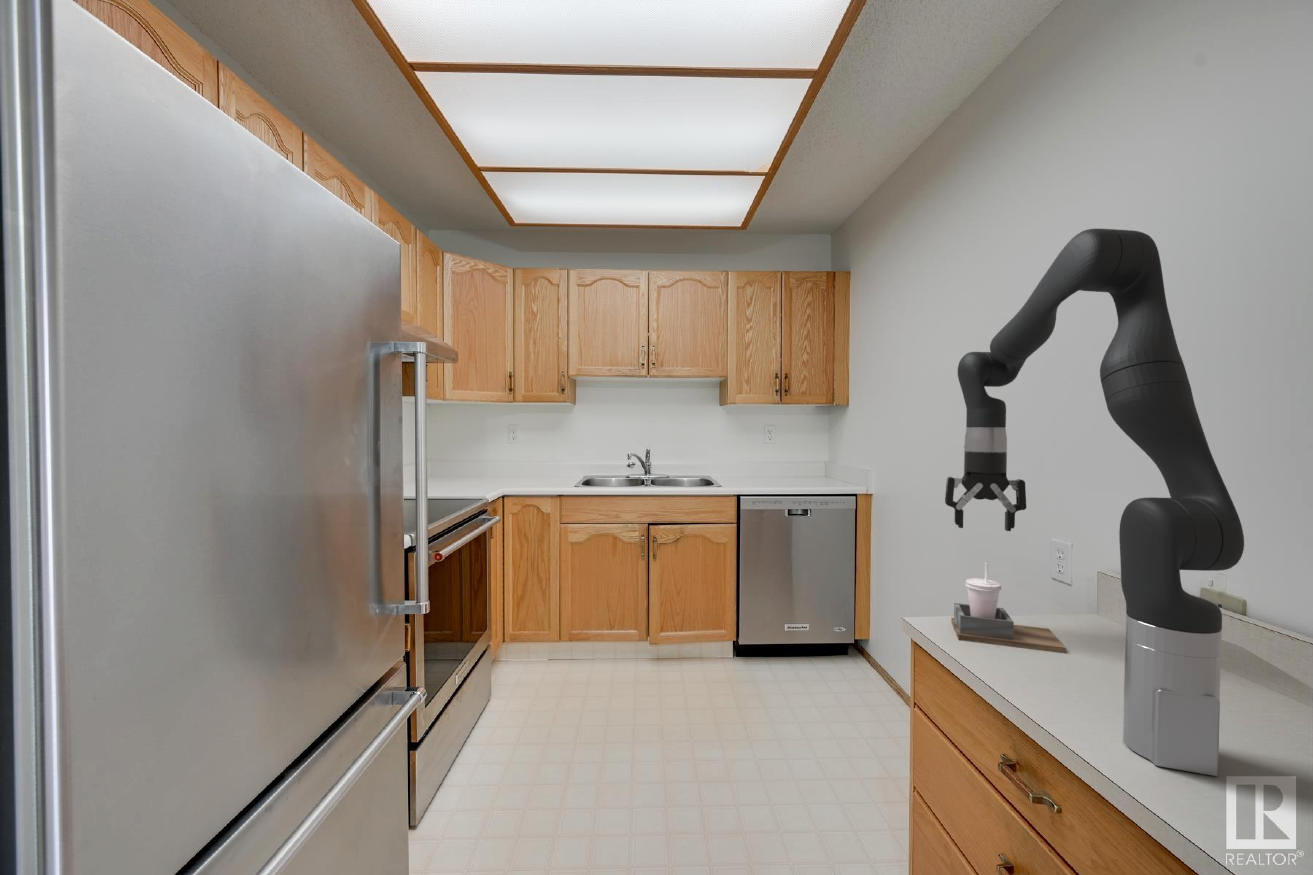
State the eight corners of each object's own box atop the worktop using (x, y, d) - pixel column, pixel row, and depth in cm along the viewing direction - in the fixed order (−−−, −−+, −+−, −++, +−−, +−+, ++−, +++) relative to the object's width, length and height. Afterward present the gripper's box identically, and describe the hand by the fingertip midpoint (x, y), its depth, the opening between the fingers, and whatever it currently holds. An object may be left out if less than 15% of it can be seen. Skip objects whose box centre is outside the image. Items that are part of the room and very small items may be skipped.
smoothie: (998, 637, 112) (999, 566, 112) (962, 630, 116) (963, 561, 116) (1002, 628, 118) (1003, 560, 117) (967, 621, 121) (968, 556, 121)
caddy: (1065, 653, 107) (1066, 629, 107) (958, 639, 114) (959, 617, 114) (1048, 633, 118) (1049, 611, 118) (951, 622, 124) (951, 601, 124)
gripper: (948, 449, 116) (947, 529, 116) (1030, 451, 111) (1029, 534, 111) (944, 448, 123) (943, 524, 123) (1021, 450, 118) (1019, 528, 118)
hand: (983, 529), depth 117 cm, fingers open, 8 cm apart
